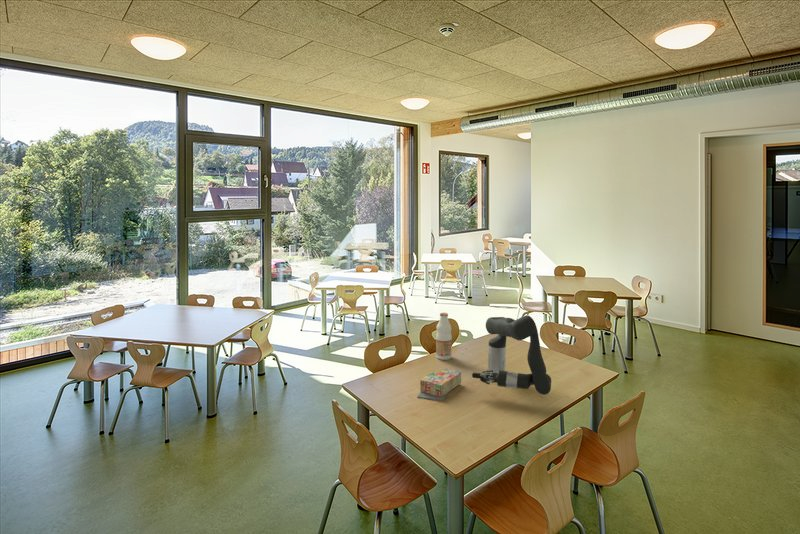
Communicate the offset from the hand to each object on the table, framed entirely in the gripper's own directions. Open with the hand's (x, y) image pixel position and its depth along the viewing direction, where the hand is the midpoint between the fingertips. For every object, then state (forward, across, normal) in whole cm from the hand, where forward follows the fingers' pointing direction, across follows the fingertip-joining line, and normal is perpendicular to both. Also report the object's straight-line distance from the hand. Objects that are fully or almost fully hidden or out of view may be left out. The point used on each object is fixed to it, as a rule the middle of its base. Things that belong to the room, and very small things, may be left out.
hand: (472, 374), depth 229 cm
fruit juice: (+27, -49, +11) cm, 57 cm away
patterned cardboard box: (+10, -1, +7) cm, 12 cm away
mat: (+18, 0, +10) cm, 21 cm away
